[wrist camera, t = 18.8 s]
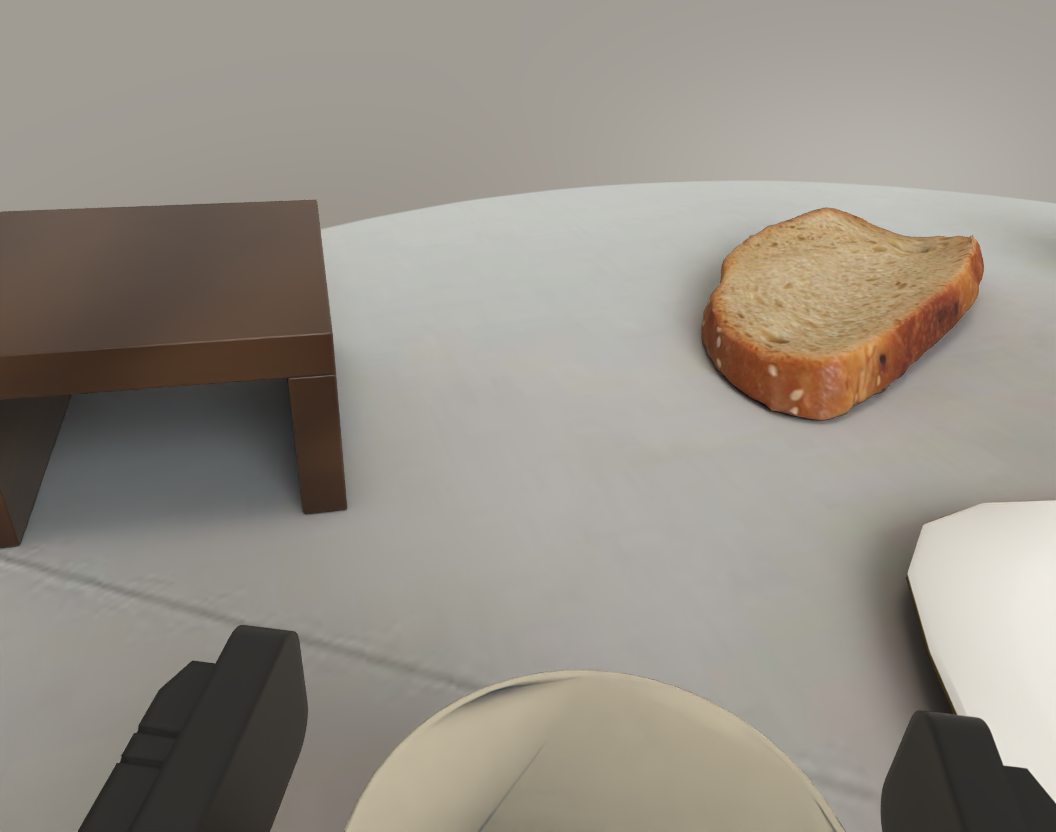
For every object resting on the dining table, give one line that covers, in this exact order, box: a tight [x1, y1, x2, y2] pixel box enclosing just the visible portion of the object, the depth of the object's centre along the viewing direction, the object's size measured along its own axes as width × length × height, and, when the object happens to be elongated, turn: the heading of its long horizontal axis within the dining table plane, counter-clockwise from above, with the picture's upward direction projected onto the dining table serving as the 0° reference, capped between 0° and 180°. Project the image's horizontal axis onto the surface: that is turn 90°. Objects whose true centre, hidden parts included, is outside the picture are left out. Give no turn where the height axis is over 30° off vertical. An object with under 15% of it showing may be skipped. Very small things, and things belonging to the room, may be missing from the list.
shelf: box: [0, 200, 347, 548], centre depth 34 cm, size 12×12×7 cm
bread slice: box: [702, 208, 984, 420], centre depth 45 cm, size 18×18×4 cm
